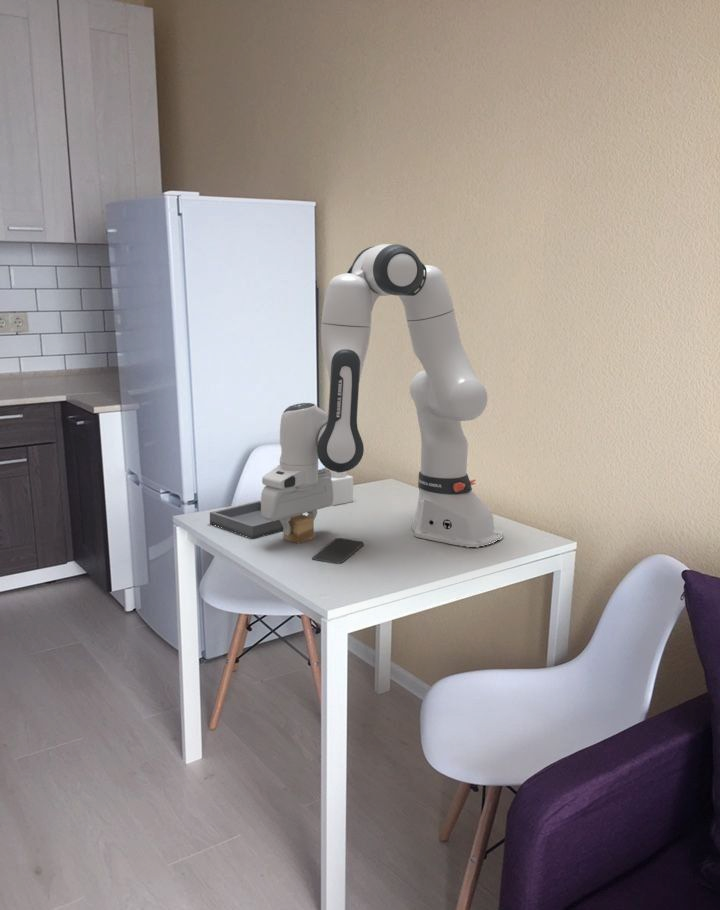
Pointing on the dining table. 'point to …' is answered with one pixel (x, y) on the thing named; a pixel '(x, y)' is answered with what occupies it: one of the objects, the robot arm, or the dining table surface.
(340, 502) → the medicine bottle
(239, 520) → the sorting tray
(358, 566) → the dining table surface
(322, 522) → the dining table surface
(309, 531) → the oversize block
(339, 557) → the smartphone
